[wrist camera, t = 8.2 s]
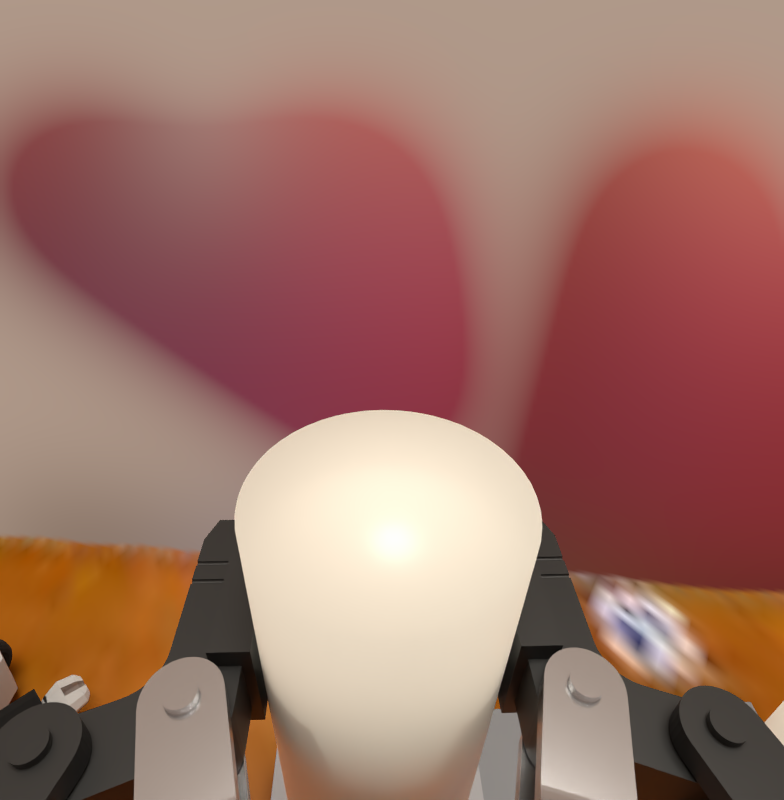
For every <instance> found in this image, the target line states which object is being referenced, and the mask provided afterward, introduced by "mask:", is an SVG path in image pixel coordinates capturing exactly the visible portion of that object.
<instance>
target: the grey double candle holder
mask: <svg viewBox="0 0 784 800" xmlns="http://www.w3.org/2000/svg"><path fill="white" fill-rule="evenodd" d="M745 703H746V704H747V705H748V706H750V707H751V708H752V709H753V710H754V711H755V709H754V707H753V705H752V704H751V702H745ZM755 713H756V711H755ZM756 714H757V713H756ZM757 715H758V714H757ZM765 724H766V725H767V726H768V728H769V729H770V730H771V731H772V732H773V734H774V735H775V736H776V737H777V738H778V739H779V741H780V742H781V743H782V744H783V745H784V701H783V702H782V703H781V705H780V706H779V707H778V708H777V709H776V710H775V711H774V712H773V714H772V715H771V716H770V717H769V718H768V719H767V720H766V722H765ZM521 734H522V733H521V729H520V724H519V719H518V715H517V713H501V709H494V711H493V714H492V718H491V721H490V725H489V728H488V732H487V735H486V739H485V742H484V746H483V749H482V753H481V757H480V760H479V764H478V767H477V771H476V774H475V778H474V781H473V785H472V788H471V792H470V795H469V799H468V800H515V792H516V776H517V761H518V746H519V740H520V737H521ZM271 800H287V795H286V790H285V784H284V779H283V774H282V769H281V764H280V759H279V754H278V749H277V753H276V761H275V769H274V778H273V786H272V794H271Z"/></svg>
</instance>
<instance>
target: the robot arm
mask: <svg viewBox="0 0 784 800" xmlns="http://www.w3.org/2000/svg"><path fill="white" fill-rule="evenodd" d="M498 698H499V703H500V708H501V713H517V715H518V719H519V724H520V729H521V733H522V734H521V737H520V740H519V746H518V761H517V776H516V792H515V800H784V745H783V744H782V743H781V742H780V741H779V739H778V738H777V737H776V736H775V735H774V734H773V732H772V731H771V730H770V729H769V728H768V726H767V725H766V724H765V723H764V722H763V721H762V719H761V718H760V717H759V716H758V715H757V714H756V713H755V711H754V710H753V709H752V708H751V707H750V706H748V705H747V704H746V703H745V702H744V701H742V700H741V699H740V698H738V697H737V696H735V695H733V694H731V693H730V692H728V691H725V690H723V689H720V688H716V687H712V686H698V687H694V688H692V689H690V690H688V691H687V692H686V693H685V694H684V695H683V697H679V696H676V695H673V694H669V693H666V692H663V691H659V690H656V689H653V688H649V687H646V686H643V685H640V684H637V683H635V682H633V681H631V680H629V679H627V678H625V677H624V676H622V675H621V674H619V673H618V672H617V670H616V669H615V668H614V667H613V666H612V665H611V664H610V663H609V662H608V661H607V660H606V659H604V658H603V657H602V656H601V654H600V653H599V651H598V649H597V648H596V645H595V643H594V641H593V638H592V635H591V633H590V630H589V627H588V624H587V622H586V619H585V616H584V614H583V611H582V608H581V605H580V603H579V600H578V597H577V595H576V592H575V589H574V586H573V584H572V581H571V578H569V573H568V570H567V568H566V565H565V562H564V561H563V560H562V554H561V551H560V549H559V546H558V543H557V541H556V538H555V535H554V534H553V533H552V532H551V531H550V530H549V528H548V527H547V526H546V525H545V524H544V523H543V522H542V537H541V544H540V547H539V551H538V555H537V558H536V562H535V565H534V569H533V573H532V576H531V580H530V583H529V587H528V590H527V594H526V597H525V601H524V604H523V608H522V611H521V615H520V619H519V622H518V626H517V629H516V633H515V636H514V640H513V643H512V647H511V650H510V654H509V657H508V661H507V665H506V668H505V672H504V675H503V679H502V682H501V686H500V689H499V693H498ZM267 701H268V697H267V692H266V687H265V682H264V677H263V672H262V667H261V661H260V656H259V651H258V646H257V641H256V636H255V631H254V626H253V620H252V615H251V610H250V605H249V600H248V595H247V590H246V585H245V579H244V574H243V569H242V564H241V559H240V554H239V549H238V544H237V539H236V533H235V520H220V521H219V522H218V523H217V525H216V526H215V527H214V528H213V530H212V531H211V532H210V533H209V534H208V536H207V537H206V538H205V539H204V543H203V546H202V549H201V552H200V555H199V559H198V565H197V566H196V569H195V572H194V575H193V578H192V584H191V585H190V588H189V591H188V595H187V598H186V601H185V604H184V608H183V611H182V614H181V618H180V621H179V624H178V627H177V631H176V634H175V637H174V640H173V644H172V647H171V650H170V653H169V656H168V658H167V660H166V662H165V664H164V665H163V667H162V668H161V669H159V670H158V671H157V672H156V673H155V674H154V675H153V676H152V677H151V678H150V679H149V680H148V682H147V683H146V685H145V686H144V687H142V688H141V689H139V690H138V691H136V692H135V693H133V694H131V695H129V696H127V697H124V698H122V699H119V700H117V701H114V702H111V703H108V704H105V705H102V706H99V707H96V708H94V709H91V710H88V711H85V712H82V713H79V714H78V713H77V712H76V710H75V709H73V708H72V707H71V706H69V705H67V704H65V703H59V702H49V703H42V704H39V705H36V706H33V707H31V708H29V709H26V710H25V711H23V712H21V713H19V714H18V715H16V716H15V717H14V718H12V719H11V720H10V721H8V722H7V723H6V724H5V725H4V726H3V727H2V728H1V729H0V800H251V799H250V791H249V782H248V774H247V766H246V758H245V749H246V743H247V737H248V731H249V725H250V720H263V719H265V715H266V708H267Z"/></svg>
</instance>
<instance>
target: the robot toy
mask: <svg viewBox="0 0 784 800" xmlns="http://www.w3.org/2000/svg"><path fill="white" fill-rule="evenodd" d="M11 660H12V650H11V647H10V646H9V645H8V644H7V643H6V642H5V641H3V640H0V729H1V728H2V727H3V726H4V725H5V724H6V723H7V722H8V721H10V720H11V719H12V718H14V717H15V716H16V715H18V714H19V713H21V712H23V711H25V710H26V709H29V708H31V707H33V706H36V705H39V704H42V703H49V702H59V703H65V704H67V705H69V706H71V707H72V708H73V709H75V710H76V712H78V711H79V710H80V709H81V708H82V707H83V706H84V705H86V704H87V703H88V700H89V696H90V692H89V690H88V688H87V686H86V685H85V684H84V682H83V680H82V678H81V676H76V675H71V676H69V677H66V678H64V679H62V680H59V681H57V682H56V683H55V684H54V685H53V687H52V688H51V689H50V690H49V691H48V693H47V694H46V695H45V696H44V698H43V699H42V701H40V699H39V697H38V695H37V693H36V692H35V690H34V689H33V690H32V691H30V692H28V693H27V694H25V695H24V696H22V697H20V698H19V699H17V700H16V701H14V702H12V703H11V704H9V703H10V701H11V699H12V698H13V696H14V694H15V692H16V690H17V689H18V687H17V685H16V683H15V680H14V678H13V676H12V674H11V672H10V670H9V666H10V664H11Z"/></svg>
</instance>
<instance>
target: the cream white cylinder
mask: <svg viewBox="0 0 784 800" xmlns="http://www.w3.org/2000/svg"><path fill="white" fill-rule="evenodd" d="M235 533H236V539H237V544H238V549H239V554H240V559H241V564H242V569H243V574H244V579H245V585H246V590H247V595H248V600H249V605H250V610H251V615H252V620H253V626H254V631H255V636H256V641H257V646H258V651H259V656H260V661H261V667H262V672H263V677H264V682H265V687H266V692H267V697H268V702H269V708H270V713H271V718H272V723H273V728H274V733H275V738H276V743H277V749H278V754H279V759H280V764H281V769H282V774H283V779H284V784H285V790H286V795H287V800H468V799H469V795H470V792H471V788H472V785H473V781H474V778H475V774H476V771H477V767H478V764H479V760H480V757H481V753H482V749H483V746H484V742H485V739H486V735H487V732H488V728H489V725H490V721H491V718H492V714H493V711H494V707H495V703H496V700H497V696H498V693H499V689H500V686H501V682H502V679H503V675H504V672H505V668H506V665H507V661H508V657H509V654H510V650H511V647H512V643H513V640H514V636H515V633H516V629H517V626H518V622H519V619H520V615H521V611H522V608H523V604H524V601H525V597H526V594H527V590H528V587H529V583H530V580H531V576H532V573H533V569H534V565H535V562H536V558H537V555H538V551H539V547H540V544H541V537H542V517H541V510H540V506H539V503H538V499H537V496H536V494H535V492H534V489H533V487H532V485H531V483H530V481H529V480H528V478H527V477H526V475H525V474H524V472H523V471H522V470H521V468H520V467H519V466H518V465H517V464H516V462H515V461H514V460H513V459H512V458H511V457H510V456H509V455H508V454H507V453H505V452H504V451H503V450H502V449H501V448H499V447H498V446H497V445H495V444H494V443H493V442H491V441H490V440H488V439H487V438H485V437H484V436H482V435H480V434H479V433H477V432H475V431H473V430H471V429H469V428H466V427H464V426H462V425H460V424H457V423H454V422H452V421H449V420H446V419H442V418H439V417H435V416H432V415H426V414H421V413H416V412H407V411H396V410H375V411H373V410H372V411H362V412H353V413H348V414H343V415H338V416H334V417H330V418H327V419H324V420H320V421H318V422H316V423H313V424H310V425H308V426H306V427H303V428H302V429H300V430H297V431H295V432H293V433H292V434H290V435H289V436H287V437H285V438H284V439H282V440H281V441H279V443H277V444H276V445H274V446H273V447H272V448H271V449H269V450H268V451H267V452H266V453H265V454H264V455H263V456H262V457H261V458H260V459H259V460H258V462H257V463H256V464H255V466H254V467H253V468H252V470H251V471H250V472H249V474H248V476H247V478H246V479H245V481H244V483H243V485H242V487H241V490H240V493H239V496H238V499H237V504H236V509H235Z"/></svg>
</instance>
